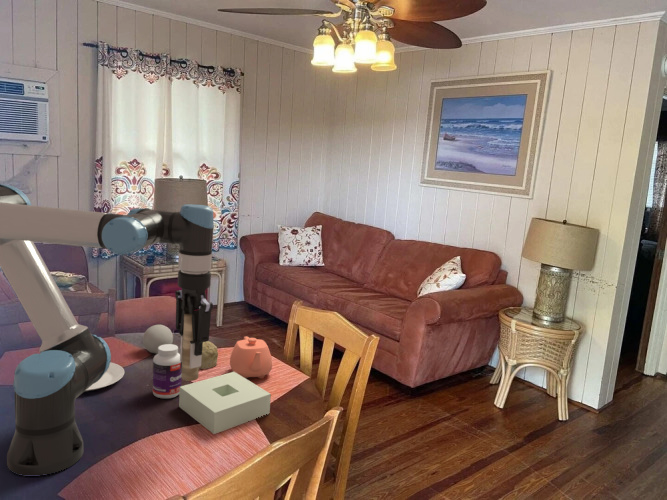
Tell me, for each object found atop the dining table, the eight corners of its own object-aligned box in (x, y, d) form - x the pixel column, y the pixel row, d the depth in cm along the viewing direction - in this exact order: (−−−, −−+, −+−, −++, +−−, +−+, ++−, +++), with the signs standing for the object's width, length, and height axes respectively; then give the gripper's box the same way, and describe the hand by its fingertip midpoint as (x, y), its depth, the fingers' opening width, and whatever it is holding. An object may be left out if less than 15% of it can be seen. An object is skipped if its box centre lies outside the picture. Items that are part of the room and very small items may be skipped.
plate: (44, 401, 141) (44, 394, 141) (50, 370, 160) (50, 363, 159) (125, 393, 150) (125, 385, 149) (122, 364, 168) (123, 358, 168)
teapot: (236, 390, 157) (238, 352, 155) (225, 364, 175) (226, 330, 173) (278, 386, 162) (281, 349, 160) (263, 361, 180) (265, 328, 178)
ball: (178, 353, 181) (179, 326, 179) (153, 360, 173) (153, 332, 171) (162, 345, 187) (162, 318, 185) (136, 351, 179) (137, 324, 177)
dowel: (186, 382, 123) (189, 318, 120) (178, 376, 126) (181, 314, 123) (201, 378, 126) (204, 316, 123) (193, 372, 129) (195, 311, 126)
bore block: (213, 434, 132) (214, 412, 131) (179, 406, 144) (179, 386, 143) (269, 413, 144) (270, 393, 143) (233, 390, 157) (234, 371, 156)
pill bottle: (172, 402, 146) (174, 354, 144) (146, 397, 148) (147, 350, 145) (186, 390, 154) (187, 344, 151) (161, 385, 155) (162, 340, 153)
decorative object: (218, 376, 173) (228, 348, 177) (200, 368, 165) (211, 338, 169) (197, 371, 178) (207, 344, 181) (179, 363, 170) (190, 334, 173)
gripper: (228, 277, 118) (222, 372, 122) (190, 261, 130) (186, 349, 134) (199, 280, 113) (194, 379, 117) (162, 264, 124) (159, 355, 128)
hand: (190, 363), depth 125 cm, fingers closed on dowel, 4 cm apart
